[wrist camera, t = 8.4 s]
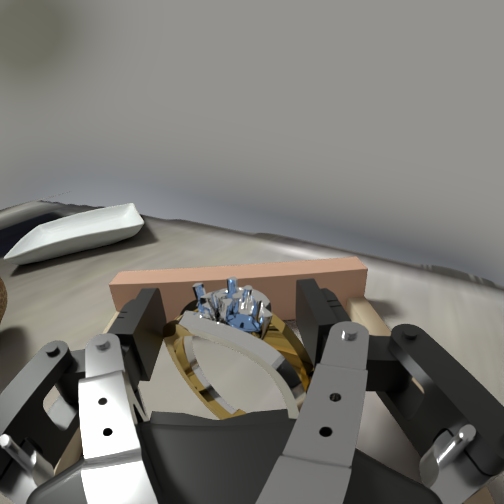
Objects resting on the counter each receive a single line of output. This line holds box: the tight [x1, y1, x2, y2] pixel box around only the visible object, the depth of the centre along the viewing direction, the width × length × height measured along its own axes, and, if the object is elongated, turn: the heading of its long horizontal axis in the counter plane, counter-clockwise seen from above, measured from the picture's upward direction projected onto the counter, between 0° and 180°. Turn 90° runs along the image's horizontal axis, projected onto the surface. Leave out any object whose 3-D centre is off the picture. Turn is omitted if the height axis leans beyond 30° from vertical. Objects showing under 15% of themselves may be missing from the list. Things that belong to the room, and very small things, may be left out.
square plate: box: [4, 203, 144, 265], centre depth 49 cm, size 27×27×4 cm
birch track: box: [54, 296, 495, 504], centre depth 12 cm, size 20×20×2 cm
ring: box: [163, 276, 315, 420], centre depth 10 cm, size 7×3×8 cm, turn 49°
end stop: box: [109, 257, 368, 323], centre depth 22 cm, size 20×2×4 cm, turn 93°
